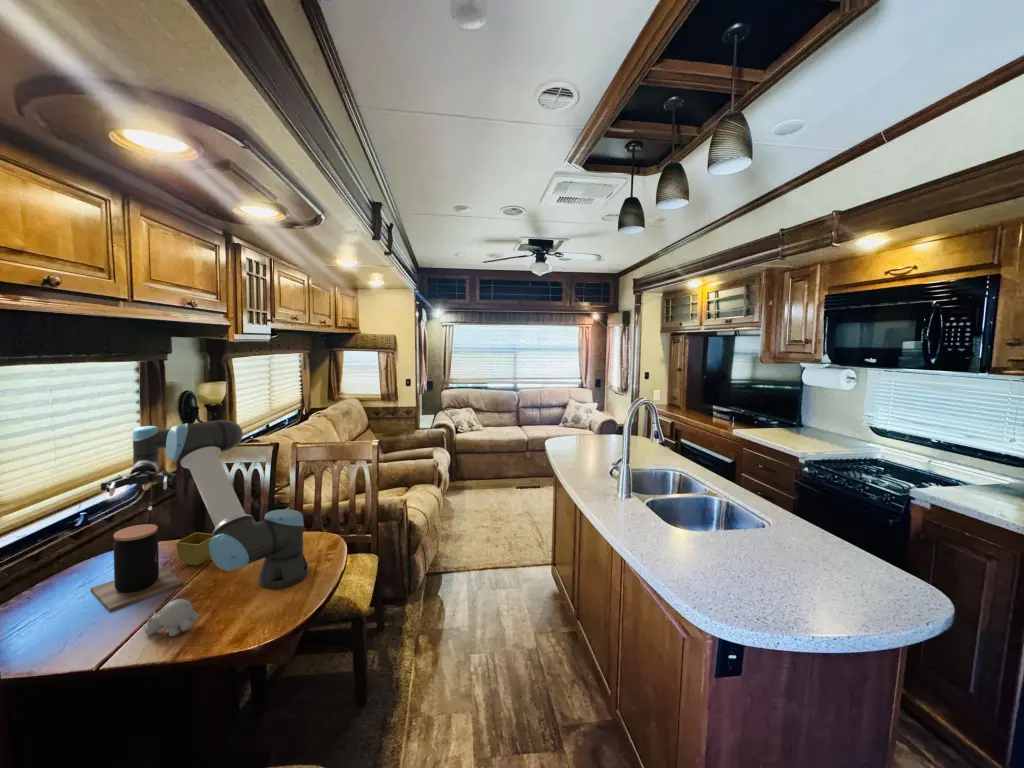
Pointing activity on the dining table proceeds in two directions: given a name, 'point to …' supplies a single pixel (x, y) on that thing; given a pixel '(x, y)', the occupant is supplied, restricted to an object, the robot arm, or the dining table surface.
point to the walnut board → (117, 599)
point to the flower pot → (194, 548)
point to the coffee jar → (136, 558)
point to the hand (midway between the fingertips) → (138, 488)
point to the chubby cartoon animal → (172, 618)
